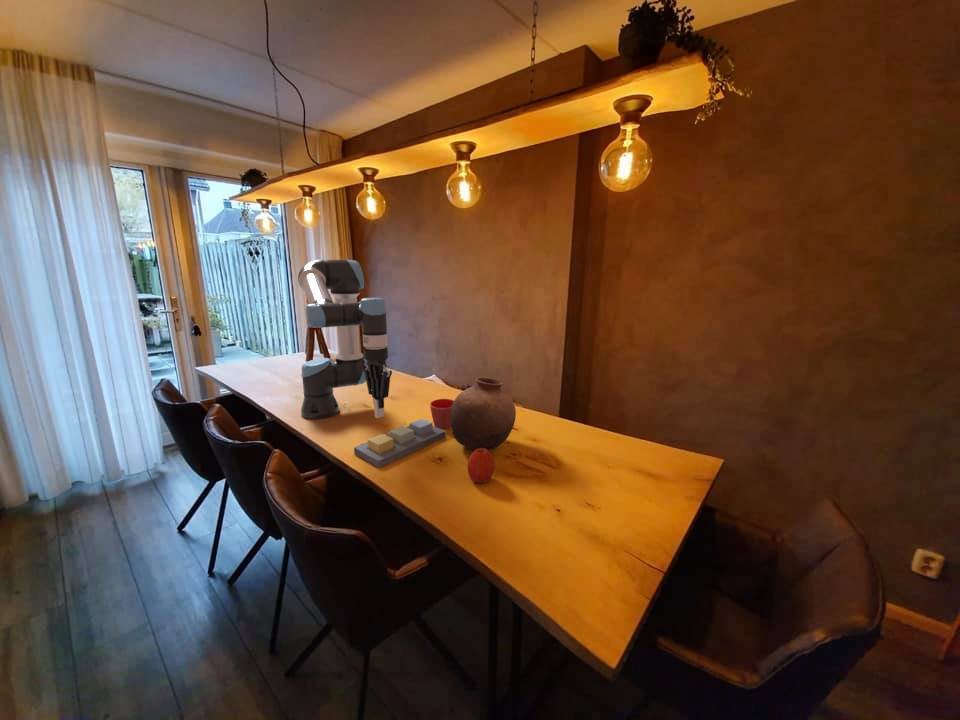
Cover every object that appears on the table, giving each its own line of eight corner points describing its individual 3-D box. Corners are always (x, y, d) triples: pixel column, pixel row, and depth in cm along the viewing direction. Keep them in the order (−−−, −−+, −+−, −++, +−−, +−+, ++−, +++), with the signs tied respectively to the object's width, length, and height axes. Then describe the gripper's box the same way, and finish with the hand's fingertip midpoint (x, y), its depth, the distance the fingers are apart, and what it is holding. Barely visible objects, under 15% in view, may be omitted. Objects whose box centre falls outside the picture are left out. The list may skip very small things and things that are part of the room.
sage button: (390, 440, 136) (389, 431, 135) (403, 434, 140) (403, 425, 140) (400, 445, 132) (400, 435, 131) (414, 439, 137) (413, 430, 136)
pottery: (440, 454, 130) (439, 385, 124) (465, 428, 152) (466, 368, 145) (504, 467, 123) (506, 393, 117) (521, 437, 144) (524, 374, 138)
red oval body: (485, 491, 110) (485, 457, 107) (461, 482, 114) (461, 449, 111) (499, 478, 116) (499, 446, 114) (476, 470, 121) (476, 439, 118)
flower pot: (453, 432, 148) (453, 409, 145) (426, 429, 150) (426, 406, 147) (460, 421, 158) (460, 399, 155) (435, 419, 160) (434, 397, 158)
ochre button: (368, 448, 129) (367, 439, 128) (383, 442, 134) (382, 433, 133) (379, 454, 125) (378, 444, 125) (393, 448, 130) (393, 438, 129)
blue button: (409, 432, 143) (409, 423, 142) (421, 427, 147) (421, 418, 146) (420, 436, 139) (420, 427, 138) (432, 431, 143) (432, 422, 142)
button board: (354, 453, 130) (353, 447, 129) (420, 426, 152) (420, 421, 152) (378, 467, 121) (378, 460, 121) (445, 437, 144) (445, 431, 143)
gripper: (353, 346, 122) (358, 414, 128) (377, 351, 114) (381, 424, 120) (373, 342, 128) (377, 408, 133) (397, 348, 120) (401, 418, 125)
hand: (379, 416), depth 126 cm, fingers closed
